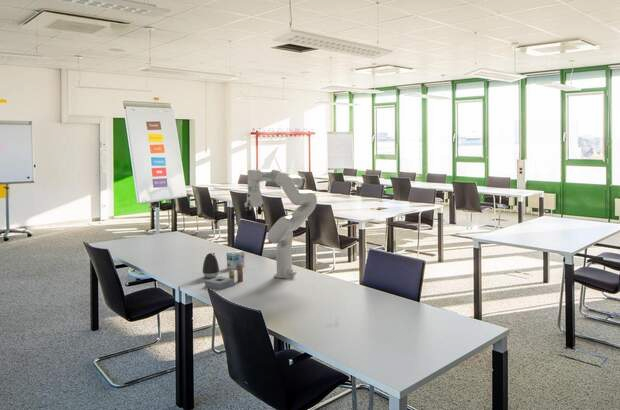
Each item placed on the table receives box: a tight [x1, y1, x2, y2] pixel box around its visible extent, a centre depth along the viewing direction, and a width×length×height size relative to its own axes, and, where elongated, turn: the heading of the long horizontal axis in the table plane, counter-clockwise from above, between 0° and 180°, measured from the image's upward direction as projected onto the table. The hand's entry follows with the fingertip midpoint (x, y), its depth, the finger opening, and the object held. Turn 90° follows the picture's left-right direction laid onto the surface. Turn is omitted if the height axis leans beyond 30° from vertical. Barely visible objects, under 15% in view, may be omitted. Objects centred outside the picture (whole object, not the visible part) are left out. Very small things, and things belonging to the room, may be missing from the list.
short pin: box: [228, 269, 235, 280], centre depth 303 cm, size 3×3×5 cm
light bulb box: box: [226, 249, 245, 270], centre depth 331 cm, size 11×7×11 cm, turn 143°
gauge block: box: [204, 275, 235, 291], centre depth 287 cm, size 12×12×4 cm
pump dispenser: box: [202, 252, 220, 279], centre depth 306 cm, size 10×10×15 cm
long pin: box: [236, 263, 244, 283], centre depth 296 cm, size 3×3×11 cm
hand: (254, 215), depth 317 cm, fingers open, 9 cm apart
